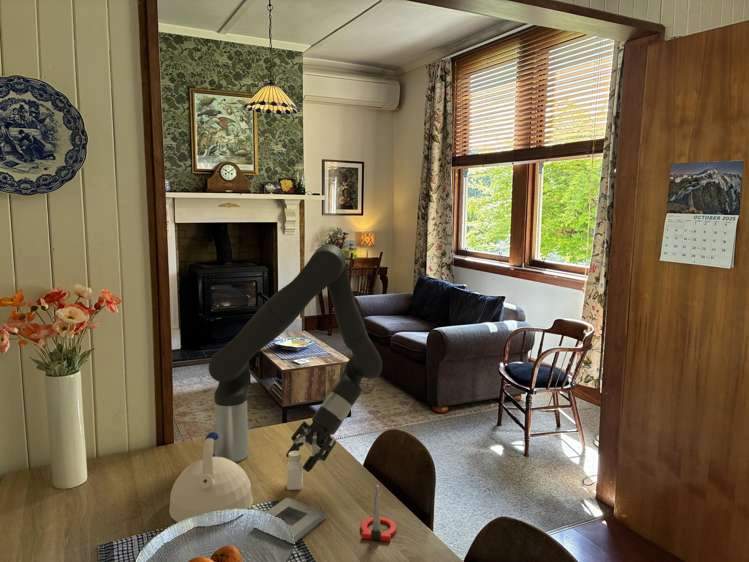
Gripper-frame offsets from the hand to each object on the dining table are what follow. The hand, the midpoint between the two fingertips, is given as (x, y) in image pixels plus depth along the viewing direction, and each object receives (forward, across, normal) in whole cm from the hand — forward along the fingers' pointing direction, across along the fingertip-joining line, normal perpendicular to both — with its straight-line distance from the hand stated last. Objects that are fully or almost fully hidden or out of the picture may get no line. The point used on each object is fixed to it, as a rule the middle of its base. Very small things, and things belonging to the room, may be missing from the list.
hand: (296, 464), depth 151 cm
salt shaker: (+5, 0, +4) cm, 6 cm away
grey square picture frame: (+12, +14, -3) cm, 19 cm away
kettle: (+20, -5, -11) cm, 23 cm away
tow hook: (+2, +29, +8) cm, 30 cm away
